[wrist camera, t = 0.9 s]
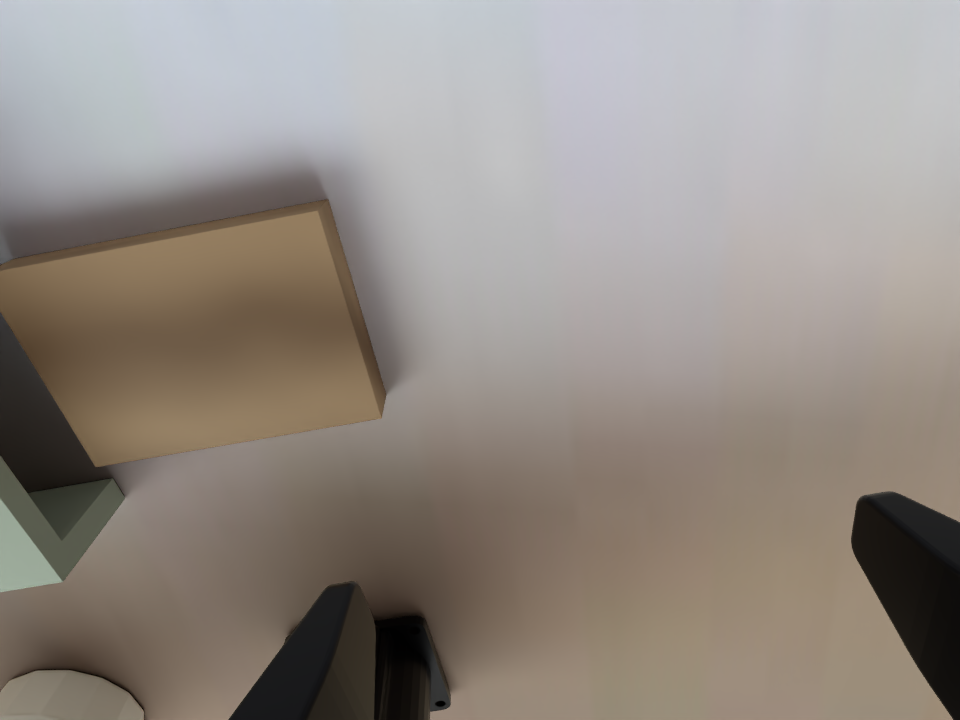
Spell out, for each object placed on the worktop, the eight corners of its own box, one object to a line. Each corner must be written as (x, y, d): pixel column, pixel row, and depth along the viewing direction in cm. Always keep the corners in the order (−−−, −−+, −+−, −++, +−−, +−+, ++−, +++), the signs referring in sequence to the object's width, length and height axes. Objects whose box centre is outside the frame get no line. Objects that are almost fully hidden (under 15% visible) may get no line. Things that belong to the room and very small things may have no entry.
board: (387, 388, 21) (381, 418, 19) (125, 433, 21) (95, 467, 20) (331, 195, 18) (317, 210, 16) (23, 254, 18) (-23, 275, 16)
